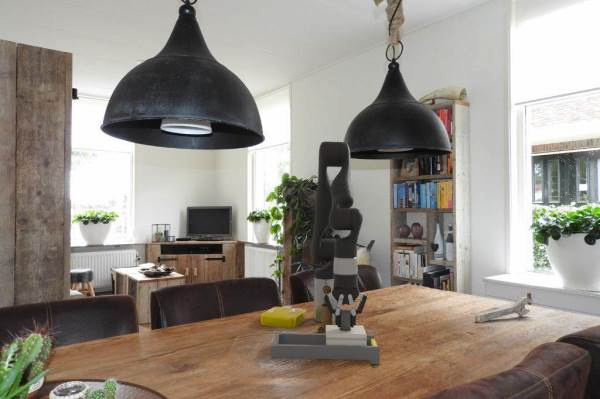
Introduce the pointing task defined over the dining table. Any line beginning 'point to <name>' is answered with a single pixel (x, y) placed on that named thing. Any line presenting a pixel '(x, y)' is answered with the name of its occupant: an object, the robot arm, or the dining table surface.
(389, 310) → the dining table surface
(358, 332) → the white plate with knob
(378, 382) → the dining table surface
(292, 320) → the element tile
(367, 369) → the dining table surface
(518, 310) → the wrench
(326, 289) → the brown wooden tall piece
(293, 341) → the bay
